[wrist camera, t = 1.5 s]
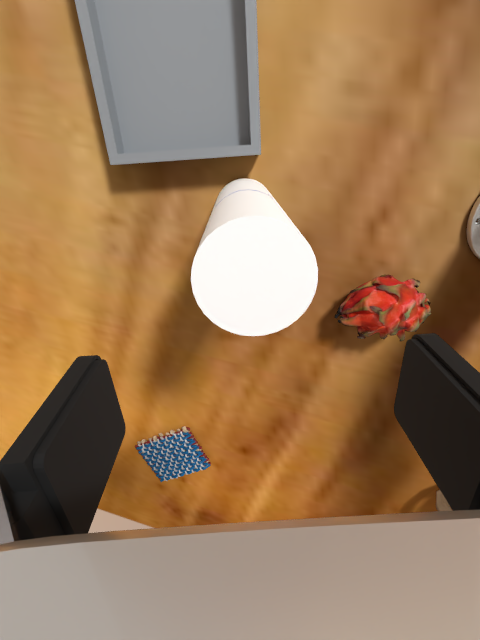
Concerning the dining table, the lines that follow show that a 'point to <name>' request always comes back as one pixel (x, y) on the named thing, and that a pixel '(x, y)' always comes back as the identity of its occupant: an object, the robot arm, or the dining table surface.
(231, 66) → the tray
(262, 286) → the cylindrical container
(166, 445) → the woven mat
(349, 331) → the dining table surface
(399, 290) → the dragon fruit
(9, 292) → the dining table surface
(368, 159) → the dining table surface
